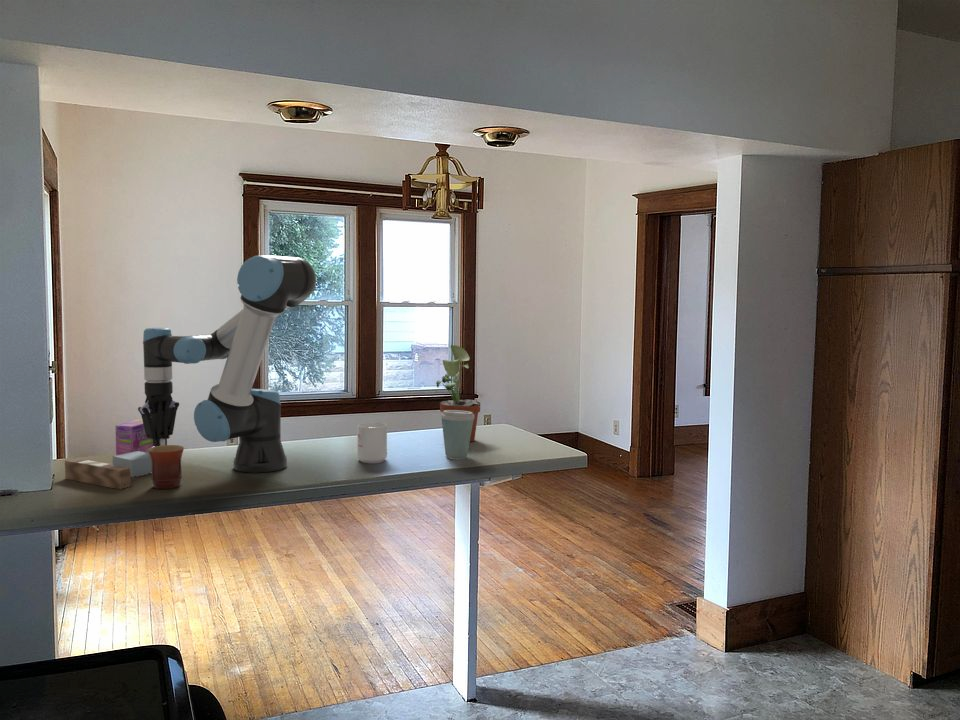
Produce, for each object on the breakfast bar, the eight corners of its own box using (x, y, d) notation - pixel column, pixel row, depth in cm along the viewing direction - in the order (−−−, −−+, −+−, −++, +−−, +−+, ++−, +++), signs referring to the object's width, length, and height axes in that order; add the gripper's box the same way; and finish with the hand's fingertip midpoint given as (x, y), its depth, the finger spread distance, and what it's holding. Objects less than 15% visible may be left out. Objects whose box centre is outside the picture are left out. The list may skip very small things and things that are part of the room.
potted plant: (429, 438, 274) (430, 338, 270) (469, 435, 280) (470, 338, 277) (447, 446, 260) (448, 342, 256) (488, 443, 266) (489, 341, 263)
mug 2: (391, 461, 237) (392, 425, 236) (365, 465, 232) (365, 428, 231) (373, 454, 247) (373, 419, 246) (348, 457, 242) (348, 422, 241)
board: (130, 486, 205) (129, 467, 204) (120, 489, 202) (120, 469, 202) (75, 476, 215) (74, 457, 214) (65, 478, 212) (64, 459, 211)
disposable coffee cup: (448, 452, 251) (448, 406, 249) (479, 455, 247) (480, 409, 246) (434, 459, 241) (435, 411, 240) (467, 462, 237) (467, 414, 236)
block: (158, 472, 221) (157, 455, 221) (132, 478, 215) (132, 460, 214) (138, 467, 226) (138, 451, 226) (113, 473, 219) (112, 456, 219)
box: (133, 465, 228) (131, 426, 226) (115, 464, 229) (114, 425, 228) (154, 458, 238) (153, 420, 237) (138, 457, 239) (136, 419, 238)
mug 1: (179, 490, 202) (178, 452, 200) (144, 491, 201) (143, 452, 200) (192, 479, 213) (191, 442, 212) (159, 479, 213) (158, 442, 212)
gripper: (167, 377, 233) (169, 455, 236) (130, 382, 222) (132, 463, 224) (185, 379, 230) (187, 458, 232) (148, 384, 218) (150, 466, 221)
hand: (160, 460), depth 228 cm, fingers closed
